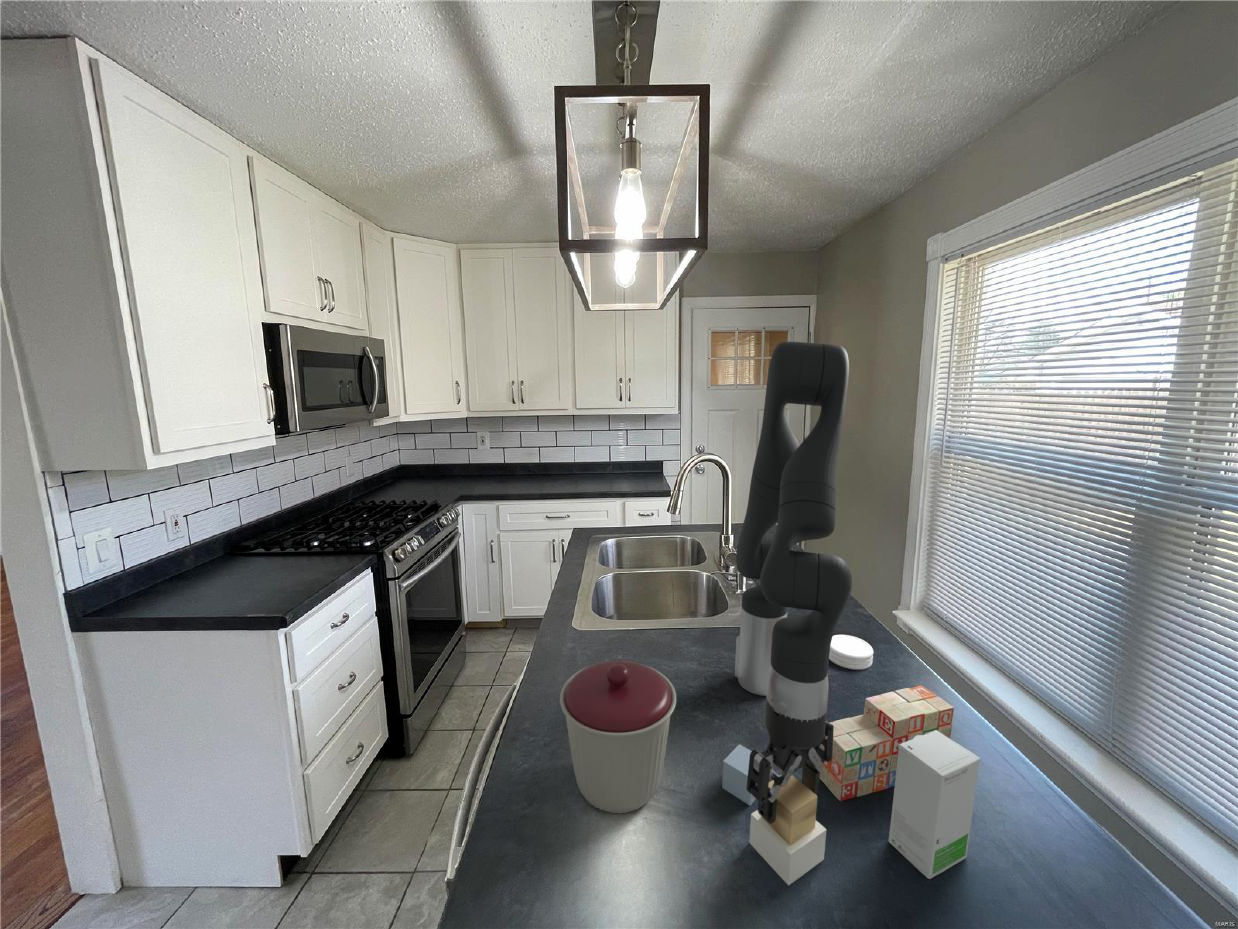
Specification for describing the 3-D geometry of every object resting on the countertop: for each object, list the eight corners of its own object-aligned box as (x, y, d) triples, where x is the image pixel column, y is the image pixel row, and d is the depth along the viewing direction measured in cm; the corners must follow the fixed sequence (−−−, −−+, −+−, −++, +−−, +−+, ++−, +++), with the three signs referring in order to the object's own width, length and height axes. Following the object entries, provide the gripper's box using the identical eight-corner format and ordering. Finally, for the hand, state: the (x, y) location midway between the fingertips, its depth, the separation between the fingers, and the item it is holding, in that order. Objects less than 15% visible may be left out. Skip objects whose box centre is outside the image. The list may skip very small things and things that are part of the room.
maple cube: (760, 817, 70) (762, 786, 69) (785, 801, 72) (787, 771, 71) (789, 845, 65) (792, 813, 64) (814, 828, 68) (817, 796, 67)
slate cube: (722, 788, 80) (723, 761, 80) (738, 770, 84) (739, 744, 83) (750, 806, 77) (751, 778, 76) (765, 787, 81) (767, 760, 80)
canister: (647, 733, 92) (648, 628, 89) (694, 813, 76) (698, 688, 72) (551, 760, 86) (547, 648, 82) (579, 852, 70) (577, 718, 66)
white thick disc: (851, 644, 123) (852, 631, 122) (882, 667, 114) (883, 653, 113) (816, 650, 120) (817, 637, 120) (845, 674, 111) (846, 659, 110)
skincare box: (928, 882, 65) (942, 778, 63) (883, 839, 71) (894, 743, 69) (969, 857, 69) (984, 758, 66) (923, 819, 75) (935, 726, 72)
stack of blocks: (840, 804, 77) (846, 733, 75) (813, 773, 83) (818, 707, 81) (946, 772, 84) (955, 706, 81) (914, 746, 89) (922, 683, 87)
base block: (749, 844, 71) (751, 813, 70) (783, 821, 74) (785, 792, 74) (788, 887, 65) (790, 854, 64) (823, 860, 69) (826, 829, 68)
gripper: (808, 667, 72) (800, 764, 75) (735, 701, 65) (730, 807, 68) (855, 695, 66) (845, 800, 69) (781, 736, 59) (774, 852, 62)
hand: (788, 804), depth 68 cm, fingers open, 8 cm apart
